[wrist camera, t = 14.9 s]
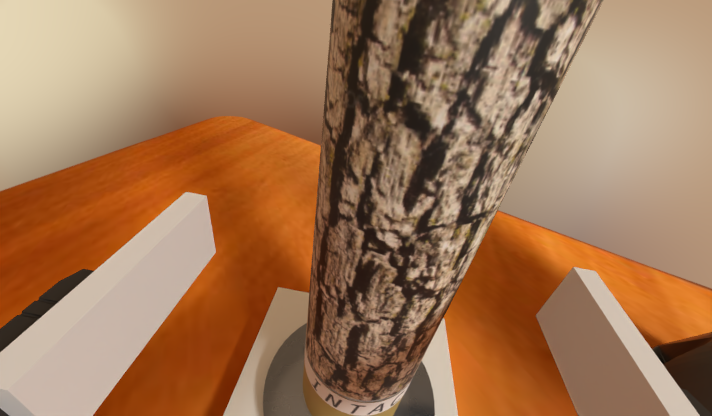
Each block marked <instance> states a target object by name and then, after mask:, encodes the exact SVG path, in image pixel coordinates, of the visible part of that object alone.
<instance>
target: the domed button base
mask: <svg viewBox="0 0 712 416" xmlns="http://www.w3.org/2000/svg"><path fill="white" fill-rule="evenodd" d="M308 304H309V293H307V292H302V291H296V290H291V289H286V288H281V287H278V289H277V291H276V293H275V296H274V298H273V300H272V303H271V305H270V307H269V310H268V312H267V314H266V317H265V319H264V321H263V324H262V326H261V328H260V331H259V333H258V335H257V338H256V340H255V342H254V345H253V347H252V349H251V352H250V354H249V356H248V359H247V361H246V363H245V366H244V368H243V370H242V373H241V375H240V377H239V380H238V382H237V384H236V387H235V389H234V391H233V394H232V396H231V398H230V401H229V403H228V405H227V408H226V410H225V412H224V415H223V416H312V415H311V414H310V412H309V410H308V408H307V405H306V402H305V398H304V394H303V372H304V356H305V342H306V329H307V317H308ZM393 416H458V412H457V405H456V398H455V391H454V383H453V376H452V369H451V362H450V355H449V348H448V341H447V334H446V327H445V320H444V319H442V321H441V323H440V325H439V327H438V329H437V331H436V333H435V335H434V337H433V339H432V341H431V343H430V345H429V347H428V349H427V351H426V353H425V355H424V357H423V359H422V361H421V363H420V365H419V367H418V369H417V371H416V373H415V374H414V376H413V378H412V380H411V382H410V384H409V386H408V388H407V390H406V392H405V394H404V395H403V397H402V399H401V401H400V403H399V405H398V407H397V409H396V411H395V413H394V415H393Z"/></svg>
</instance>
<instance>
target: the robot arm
mask: <svg viewBox="0 0 712 416" xmlns="http://www.w3.org/2000/svg"><path fill="white" fill-rule="evenodd" d="M215 253H216V249H215V243H214V237H213V231H212V225H211V219H210V213H209V207H208V201H207V196H205V195H200V194H195V193H190V192H185V193H184V194H183V195H182V196H181V197H179V198H178V199H177V200H176V201H175V202H174V203H172V204H171V205H170V206H169V207H168V208H167V209H166V210H164V211H163V212H162V213H161V214H160V215H159V216H157V217H156V218H155V219H154V220H153V221H152V222H151V223H149V224H148V225H147V226H146V227H145V228H144V229H142V230H141V231H140V232H139V233H138V234H137V235H135V236H134V237H133V238H132V239H131V240H130V241H129V242H127V243H126V244H125V245H124V246H123V247H122V248H120V249H119V250H118V251H117V252H116V253H115V254H114V255H112V256H111V257H110V258H109V259H108V260H107V261H105V262H104V263H103V264H102V265H101V266H100V267H98V268H97V269H96V270H95V271H91V270H86V269H82V270H80V271H78V272H76V273H75V274H73V275H71V276H69V277H67V278H65V279H63V280H61V281H59V282H58V283H57V284H55V285H54V286H53V287H52V288H50V289H49V290H48V291H47V292H45V293H44V294H43V295H42V296H40V297H39V300H38V301H34V302H33V303H32V304H31V305H29V306H28V307H27V308H26V309H24V310H23V311H22V314H21V315H17V316H16V317H14V318H13V319H12V320H11V321H9V322H8V323H7V324H6V325H5V326H3V327H2V328H1V329H0V416H93V414H94V413H95V412H96V410H97V409H98V408H99V406H100V405H101V404H102V402H103V401H104V400H105V398H106V397H107V396H108V394H109V393H110V392H111V391H112V389H113V388H114V387H115V385H116V384H117V383H118V381H119V380H120V379H121V377H122V376H123V375H124V373H125V372H126V371H127V369H128V368H129V367H130V365H131V364H132V363H133V361H134V360H135V359H136V357H137V356H138V355H139V353H140V352H141V351H142V349H143V348H144V347H145V345H146V344H147V343H148V341H149V340H150V339H151V337H152V336H153V335H154V334H155V332H156V331H157V330H158V328H159V327H160V326H161V324H162V323H163V322H164V320H165V319H166V318H167V316H168V315H169V314H170V312H171V311H172V310H173V308H174V307H175V306H176V304H177V303H178V302H179V300H180V299H181V298H182V296H183V295H184V294H185V292H186V291H187V290H188V288H189V287H190V286H191V284H192V283H193V282H194V280H195V279H196V278H197V277H198V275H199V274H200V273H201V271H202V270H203V269H204V267H205V266H206V265H207V263H208V262H209V261H210V259H211V258H212V257H213V255H214V254H215ZM536 318H537V320H538V322H539V325H540V327H541V329H542V332H543V334H544V336H545V339H546V341H547V344H548V346H549V348H550V351H551V353H552V355H553V358H554V360H555V362H556V365H557V367H558V369H559V372H560V374H561V376H562V379H563V381H564V383H565V386H566V388H567V390H568V393H569V395H570V397H571V400H572V402H573V405H574V407H575V409H576V412H577V414H578V416H712V332H710V333H706V334H702V335H698V336H694V337H690V338H686V339H682V340H678V341H674V342H670V343H666V344H662V345H658V346H655V347H653V348H651V347H650V346H649V345H648V343H647V342H646V340H645V339H644V338H643V336H642V335H641V333H640V332H639V331H638V329H637V328H636V327H635V325H634V324H633V322H632V321H631V320H630V318H629V317H628V315H627V314H626V313H625V311H624V310H623V309H622V307H621V306H620V304H619V303H618V302H617V300H616V299H615V297H614V296H613V295H612V293H611V292H610V290H609V289H608V288H607V286H606V285H605V284H604V282H603V281H602V279H601V278H600V277H599V275H598V274H597V272H596V271H592V270H587V269H581V268H576V267H573V268H572V270H571V271H570V272H569V273H568V275H567V276H566V277H565V278H564V280H563V281H562V282H561V284H560V285H559V286H558V287H557V289H556V290H555V291H554V293H553V294H552V295H551V296H550V298H549V299H548V300H547V301H546V303H545V304H544V305H543V307H542V308H541V309H540V310H539V312H538V313H537V314H536Z"/></svg>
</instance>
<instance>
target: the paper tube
mask: <svg viewBox="0 0 712 416" xmlns="http://www.w3.org/2000/svg"><path fill="white" fill-rule="evenodd" d="M602 2H603V0H333V3H332V17H331V28H330V41H329V54H328V66H327V78H326V91H325V104H324V116H323V129H322V141H321V154H320V166H319V179H318V191H317V204H316V216H315V229H314V241H313V254H312V267H311V279H310V292H309V304H308V317H307V329H306V342H305V356H304V372H303V394H304V398H305V402H306V405H307V408H308V410H309V412H310V414H311V415H312V416H393V415H394V413H395V411H396V409H397V407H398V405H399V403H400V401H401V399H402V397H403V395H404V394H405V392H406V390H407V388H408V386H409V384H410V382H411V380H412V378H413V376H414V374H415V373H416V371H417V369H418V367H419V365H420V363H421V361H422V359H423V357H424V355H425V353H426V351H427V349H428V347H429V345H430V343H431V341H432V339H433V337H434V335H435V333H436V331H437V329H438V327H439V325H440V323H441V321H442V319H443V317H444V315H445V313H446V311H447V309H448V307H449V305H450V303H451V301H452V299H453V297H454V295H455V293H456V291H457V289H458V287H459V285H460V284H461V282H462V280H463V278H464V276H465V274H466V272H467V270H468V268H469V266H470V264H471V262H472V260H473V258H474V256H475V254H476V252H477V250H478V248H479V246H480V244H481V242H482V240H483V238H484V236H485V234H486V232H487V230H488V228H489V226H490V224H491V222H492V220H493V218H494V216H495V214H496V212H497V210H498V208H499V206H500V204H501V202H502V200H503V198H504V196H505V194H506V192H507V190H508V189H509V187H510V184H511V183H512V181H513V179H514V177H515V175H516V173H517V171H518V169H519V167H520V165H521V163H522V161H523V159H524V157H525V155H526V153H527V151H528V149H529V147H530V145H531V143H532V141H533V139H534V137H535V135H536V133H537V131H538V129H539V127H540V125H541V123H542V121H543V119H544V117H545V115H546V113H547V111H548V109H549V107H550V105H551V103H552V102H553V99H554V97H555V95H556V94H557V92H558V90H559V88H560V86H561V84H562V82H563V80H564V78H565V76H566V74H567V72H568V70H569V68H570V66H571V64H572V62H573V60H574V58H575V56H576V54H577V52H578V50H579V48H580V46H581V44H582V42H583V40H584V38H585V36H586V34H587V32H588V30H589V28H590V26H591V24H592V22H593V20H594V18H595V16H596V15H597V12H598V10H599V9H600V7H601V5H602Z"/></svg>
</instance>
